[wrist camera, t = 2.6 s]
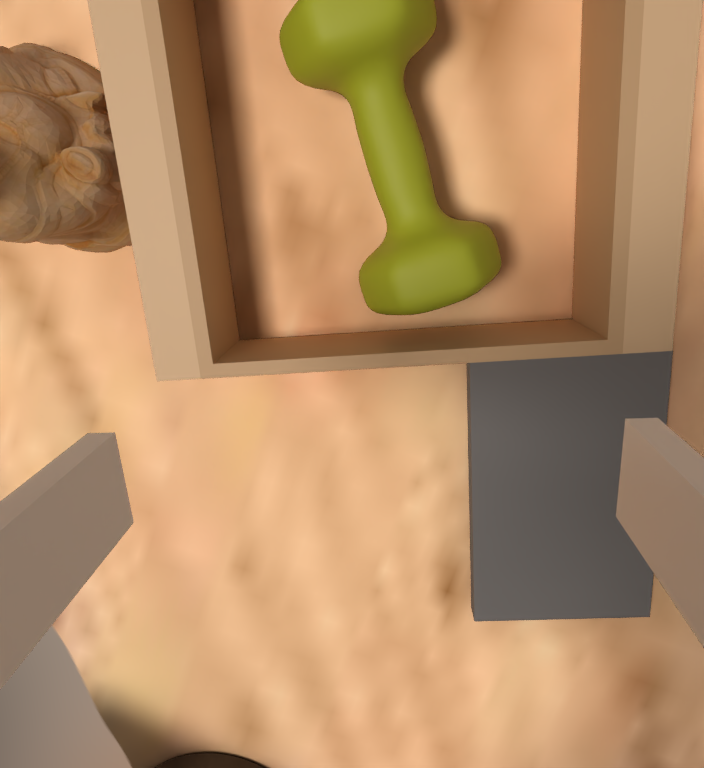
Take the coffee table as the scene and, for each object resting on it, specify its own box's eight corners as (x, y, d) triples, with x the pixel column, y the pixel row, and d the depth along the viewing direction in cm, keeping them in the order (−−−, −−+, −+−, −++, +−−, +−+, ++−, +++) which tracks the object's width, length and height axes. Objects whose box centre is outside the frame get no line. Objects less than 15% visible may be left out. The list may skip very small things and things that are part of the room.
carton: (191, 355, 38) (157, 381, 32) (130, -28, 31) (72, -81, 26) (626, 327, 35) (672, 350, 30) (651, -88, 29) (716, -161, 23)
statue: (-245, 221, 26) (-256, -5, 20) (-13, 161, 38) (19, 7, 32) (-3, 371, 27) (47, 198, 22) (148, 269, 39) (205, 139, 34)
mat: (471, 607, 42) (474, 621, 41) (466, 356, 36) (469, 362, 35) (640, 602, 41) (649, 617, 40) (661, 344, 36) (672, 350, 34)
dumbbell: (495, 275, 35) (522, 291, 28) (371, 314, 36) (368, 338, 29) (420, -19, 31) (431, -84, 24) (283, 35, 32) (255, -12, 25)
